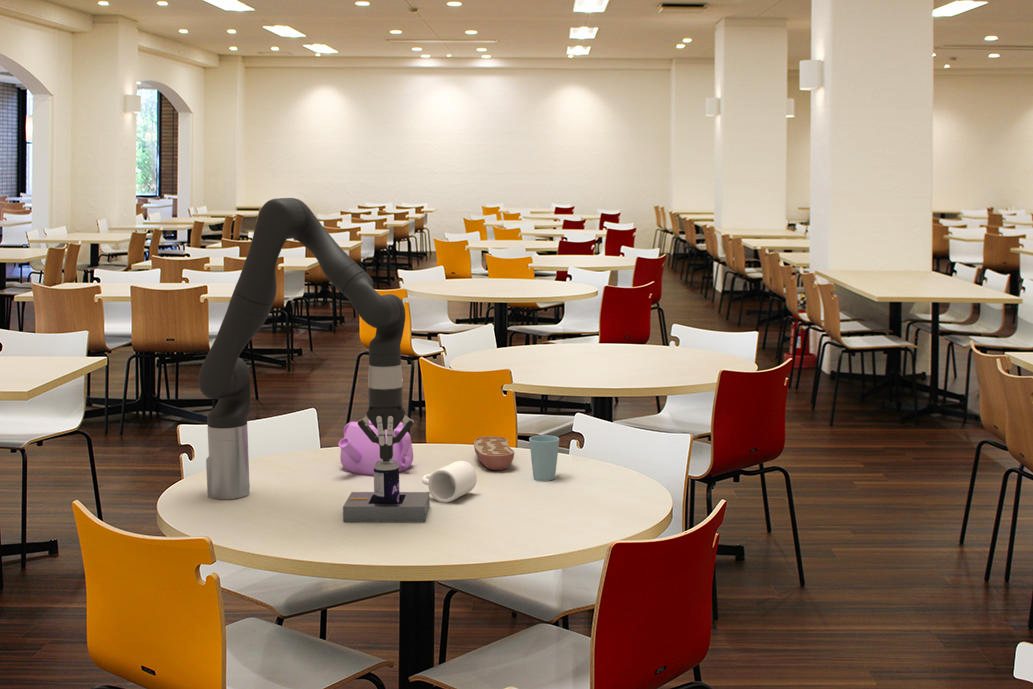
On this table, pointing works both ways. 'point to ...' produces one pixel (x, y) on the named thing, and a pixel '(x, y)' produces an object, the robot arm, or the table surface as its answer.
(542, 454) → the cup
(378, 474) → the beverage can
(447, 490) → the mug
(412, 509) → the jig
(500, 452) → the anatomical model
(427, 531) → the table surface
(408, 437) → the teapot
